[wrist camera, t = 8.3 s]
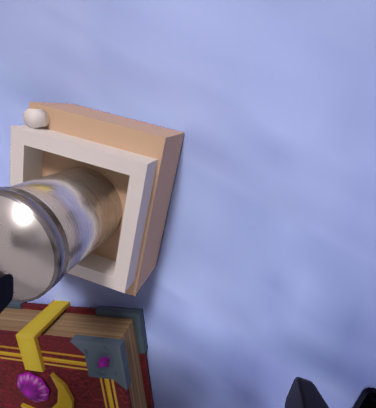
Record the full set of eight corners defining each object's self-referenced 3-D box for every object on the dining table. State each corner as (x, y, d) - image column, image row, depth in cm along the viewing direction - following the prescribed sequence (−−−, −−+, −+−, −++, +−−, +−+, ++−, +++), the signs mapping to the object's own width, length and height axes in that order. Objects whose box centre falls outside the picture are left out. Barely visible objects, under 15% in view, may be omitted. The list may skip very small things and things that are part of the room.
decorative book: (158, 412, 27) (138, 474, 22) (12, 387, 31) (-31, 436, 26) (144, 305, 24) (115, 351, 19) (-17, 293, 28) (-72, 329, 23)
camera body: (156, 265, 22) (124, 311, 17) (61, 234, 23) (5, 268, 18) (184, 132, 19) (156, 140, 14) (72, 103, 20) (7, 100, 15)
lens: (129, 178, 16) (61, 212, 11) (117, 253, 18) (52, 317, 12) (52, 155, 17) (-50, 177, 11) (47, 229, 19) (-44, 280, 13)
